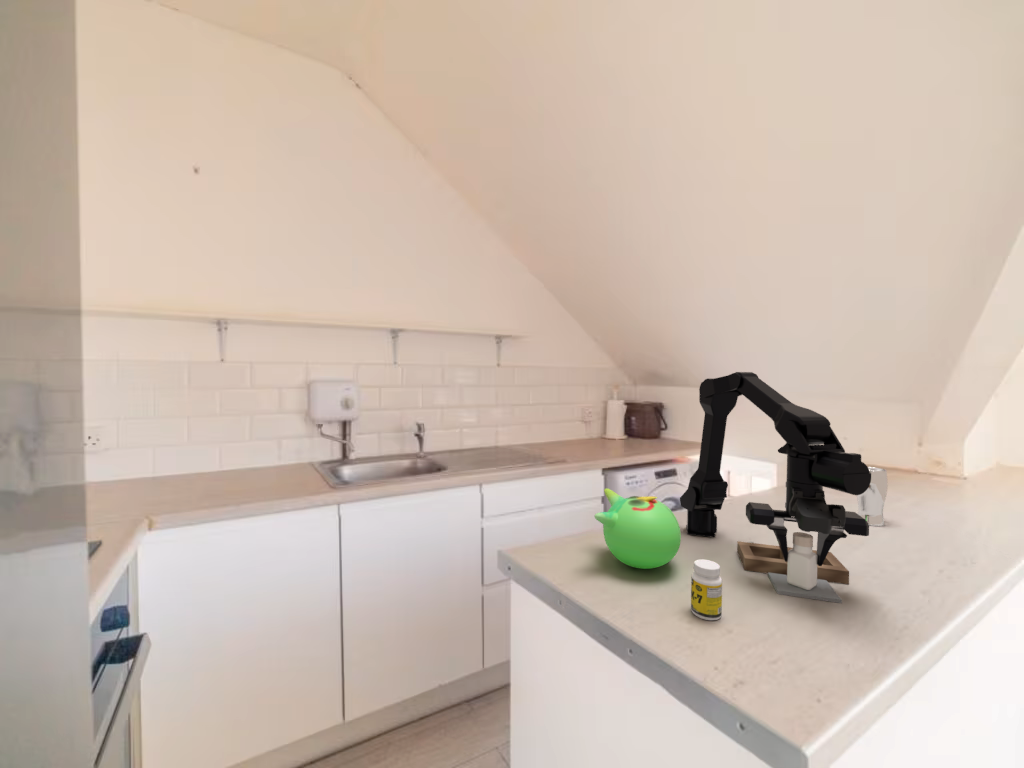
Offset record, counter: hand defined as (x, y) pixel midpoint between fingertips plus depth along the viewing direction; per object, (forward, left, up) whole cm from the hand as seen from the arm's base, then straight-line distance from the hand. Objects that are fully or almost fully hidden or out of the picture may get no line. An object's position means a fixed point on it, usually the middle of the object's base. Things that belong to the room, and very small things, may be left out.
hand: (802, 563), depth 84 cm
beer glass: (+29, +51, -5) cm, 59 cm away
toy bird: (-30, +1, -5) cm, 30 cm away
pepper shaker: (0, 0, -4) cm, 4 cm away
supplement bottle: (-18, -16, -5) cm, 25 cm away
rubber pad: (0, 0, -5) cm, 5 cm away
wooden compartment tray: (0, +10, -5) cm, 11 cm away
